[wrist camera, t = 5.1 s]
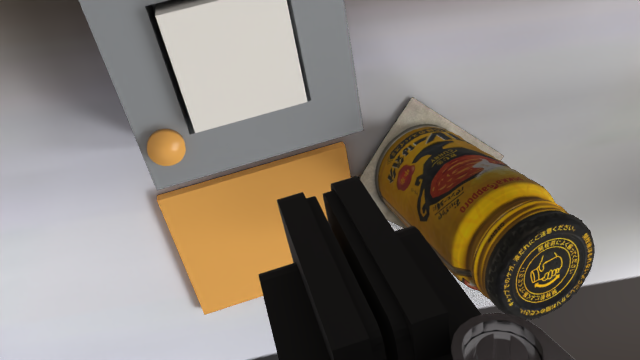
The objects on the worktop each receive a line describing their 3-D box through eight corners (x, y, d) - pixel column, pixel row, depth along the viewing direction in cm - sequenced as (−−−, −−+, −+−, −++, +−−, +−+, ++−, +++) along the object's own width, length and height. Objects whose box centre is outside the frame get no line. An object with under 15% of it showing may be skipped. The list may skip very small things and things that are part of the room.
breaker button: (265, -31, 24) (283, -16, 20) (288, 73, 26) (307, 101, 23) (155, -4, 23) (155, 16, 20) (190, 100, 26) (195, 133, 22)
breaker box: (298, -106, 24) (331, -102, 20) (333, 94, 30) (366, 133, 25) (78, -56, 23) (59, -40, 18) (156, 144, 28) (156, 194, 24)
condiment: (410, 95, 31) (552, 176, 21) (502, 155, 35) (660, 248, 25) (344, 198, 32) (445, 323, 22) (440, 244, 36) (564, 367, 26)
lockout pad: (342, 141, 31) (345, 145, 31) (362, 256, 36) (365, 262, 35) (157, 195, 30) (157, 200, 29) (203, 308, 34) (204, 314, 34)
